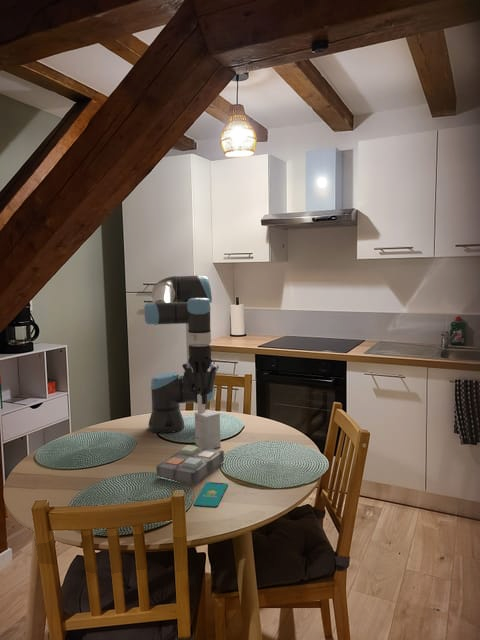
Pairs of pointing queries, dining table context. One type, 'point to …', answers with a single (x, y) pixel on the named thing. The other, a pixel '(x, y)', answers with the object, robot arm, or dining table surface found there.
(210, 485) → the smartphone
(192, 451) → the key sage
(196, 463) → the key blue
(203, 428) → the small box
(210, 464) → the keypad
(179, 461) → the key terracotta
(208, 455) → the key ivory
